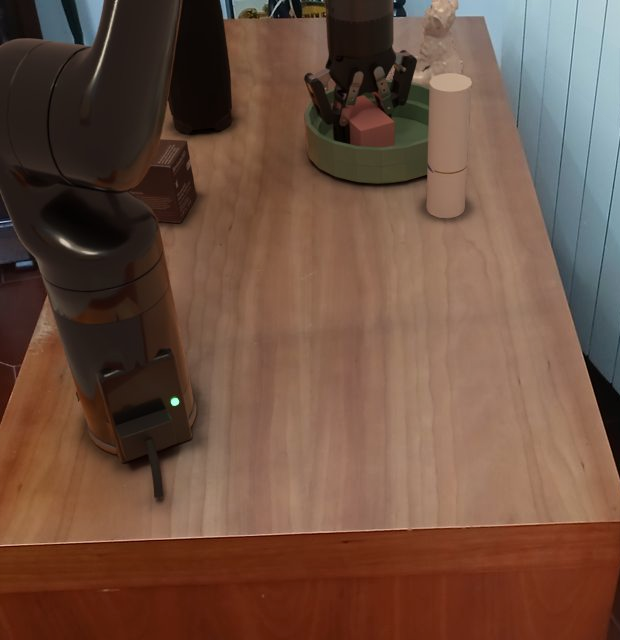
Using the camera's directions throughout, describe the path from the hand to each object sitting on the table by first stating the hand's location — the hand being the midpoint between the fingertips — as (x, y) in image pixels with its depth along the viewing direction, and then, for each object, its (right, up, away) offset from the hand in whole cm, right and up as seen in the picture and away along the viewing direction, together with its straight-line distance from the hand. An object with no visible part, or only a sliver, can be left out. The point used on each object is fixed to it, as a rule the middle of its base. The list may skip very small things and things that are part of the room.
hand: (363, 143), depth 113 cm
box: (-23, -9, -7) cm, 26 cm away
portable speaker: (-21, +5, +9) cm, 23 cm away
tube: (+9, -9, -9) cm, 16 cm away
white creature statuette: (+10, +12, +15) cm, 22 cm away
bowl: (+2, 0, +2) cm, 3 cm away
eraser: (0, -1, +1) cm, 1 cm away
